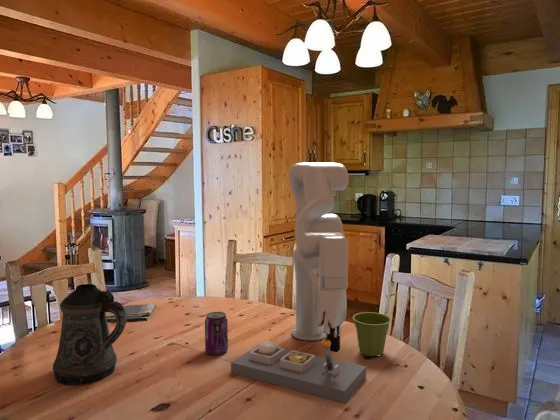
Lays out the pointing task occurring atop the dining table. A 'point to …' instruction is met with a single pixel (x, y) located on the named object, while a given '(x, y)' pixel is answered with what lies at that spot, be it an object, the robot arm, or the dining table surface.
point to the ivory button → (266, 347)
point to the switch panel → (301, 373)
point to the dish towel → (135, 313)
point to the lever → (327, 353)
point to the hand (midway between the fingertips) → (333, 350)
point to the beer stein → (87, 336)
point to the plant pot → (371, 332)
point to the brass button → (298, 357)
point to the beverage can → (216, 333)
